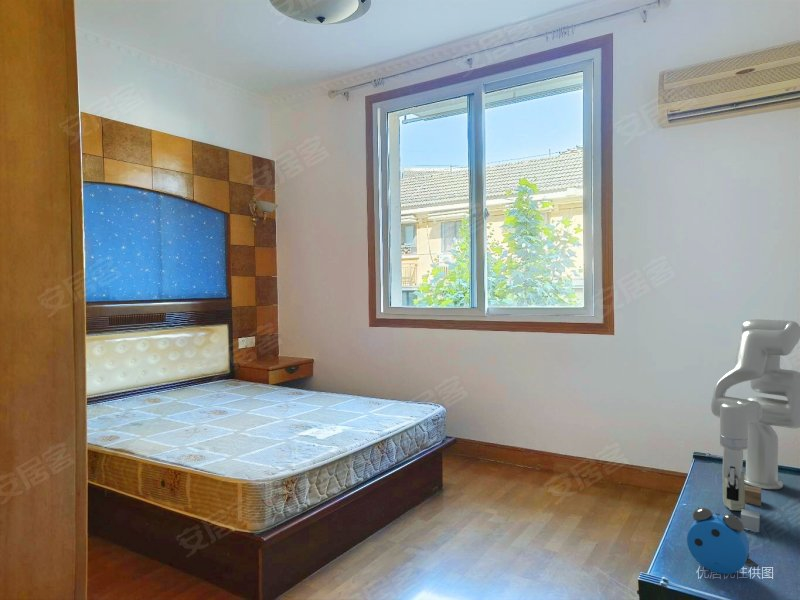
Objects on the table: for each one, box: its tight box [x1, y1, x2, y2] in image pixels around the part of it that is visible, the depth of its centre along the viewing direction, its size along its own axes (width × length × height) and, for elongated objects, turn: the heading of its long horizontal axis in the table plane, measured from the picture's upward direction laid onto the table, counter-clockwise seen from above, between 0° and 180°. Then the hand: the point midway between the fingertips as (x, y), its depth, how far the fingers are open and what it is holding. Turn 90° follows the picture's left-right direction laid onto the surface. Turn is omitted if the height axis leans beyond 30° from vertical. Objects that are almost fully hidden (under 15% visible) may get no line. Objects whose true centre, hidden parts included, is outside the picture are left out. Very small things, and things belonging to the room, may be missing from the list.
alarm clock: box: [686, 507, 750, 575], centre depth 131 cm, size 13×6×15 cm, turn 49°
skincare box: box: [721, 465, 746, 512], centre depth 164 cm, size 6×4×12 cm
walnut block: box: [745, 484, 762, 507], centre depth 170 cm, size 4×4×4 cm
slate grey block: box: [740, 509, 761, 533], centre depth 152 cm, size 4×4×4 cm
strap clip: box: [744, 553, 759, 568], centre depth 136 cm, size 8×3×4 cm, turn 179°
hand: (733, 494), depth 164 cm, fingers closed on skincare box, 7 cm apart
